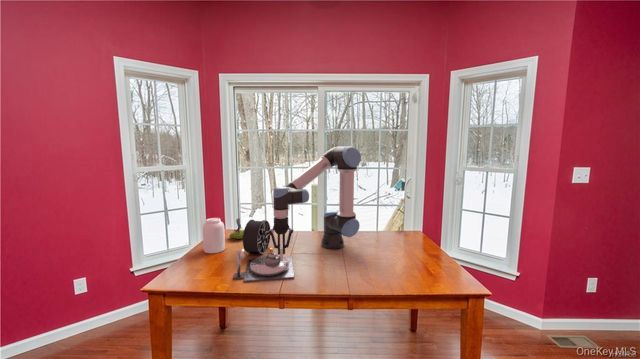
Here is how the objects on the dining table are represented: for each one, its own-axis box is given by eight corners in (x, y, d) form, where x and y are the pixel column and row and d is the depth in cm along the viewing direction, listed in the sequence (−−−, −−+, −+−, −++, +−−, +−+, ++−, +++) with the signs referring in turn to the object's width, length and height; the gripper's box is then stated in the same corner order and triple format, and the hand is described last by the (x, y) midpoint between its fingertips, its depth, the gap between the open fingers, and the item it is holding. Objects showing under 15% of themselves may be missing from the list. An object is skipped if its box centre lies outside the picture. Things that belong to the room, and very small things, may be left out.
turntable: (288, 257, 153) (288, 246, 152) (289, 274, 133) (289, 261, 132) (252, 260, 150) (251, 248, 149) (248, 277, 130) (248, 263, 129)
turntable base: (291, 258, 155) (291, 256, 155) (294, 278, 132) (293, 276, 132) (248, 261, 152) (248, 259, 151) (243, 282, 128) (243, 279, 128)
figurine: (231, 235, 195) (231, 215, 193) (249, 234, 197) (248, 214, 195) (227, 242, 182) (226, 220, 180) (246, 241, 183) (245, 220, 181)
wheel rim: (257, 259, 154) (257, 225, 152) (243, 257, 156) (242, 224, 154) (270, 246, 174) (270, 216, 171) (257, 245, 176) (257, 215, 173)
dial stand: (245, 273, 136) (244, 248, 135) (243, 278, 131) (242, 252, 130) (234, 274, 136) (233, 248, 134) (233, 279, 131) (232, 252, 129)
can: (207, 255, 159) (206, 223, 156) (200, 249, 168) (199, 218, 166) (228, 250, 167) (227, 219, 165) (220, 244, 176) (219, 215, 174)
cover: (280, 259, 146) (279, 250, 145) (280, 265, 138) (280, 256, 138) (265, 260, 145) (264, 251, 144) (264, 266, 137) (264, 257, 136)
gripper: (293, 214, 144) (293, 256, 147) (268, 215, 142) (269, 257, 145) (294, 218, 136) (294, 262, 139) (268, 219, 134) (268, 263, 137)
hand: (281, 260), depth 142 cm, fingers closed
